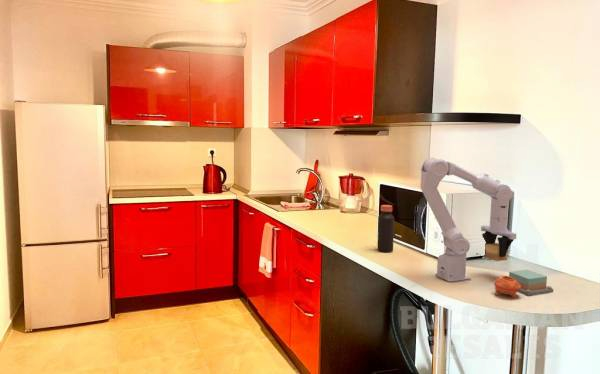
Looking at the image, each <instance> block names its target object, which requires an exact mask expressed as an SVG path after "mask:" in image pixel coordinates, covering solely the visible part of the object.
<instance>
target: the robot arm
mask: <svg viewBox="0 0 600 374" xmlns="http://www.w3.org/2000/svg"><path fill="white" fill-rule="evenodd" d="M420 174H421V177H420V190H421V192H422V194H423V196H424V197H425V200H426V202H427V203H428V206H429V208H430V210H431V211H432V214H433V215H434V217H435V220H436V222H437V224H438V225H439V227H440V230H441V235H442V238H443V239H442V240H443V245H444V246H445V252H444V253H443V254H441V255H439V256H438V258H437V266H436V267H437V268H436V273H435V276H436V277H438V278H441V279H442V280H445V281H446V282H447V281H448V282H449V283H451V282H452V283H453V282H458V281H465V280H471V278H472V277H470V276H468V275H467V274H466V271H467V269H466V268H467V254H468V252H469V251H470V247H471V246H470V245H471V243H470V241H469V240H468V239H467V238H465V237H464V235H463V234H462V232H461V231H460V230H459V228H458V227H457V225H456V224H455V221H454V219H453V218H452V215H451V214H450V211H449V210H448V207H447V206H446V204H445V201H444V199H443V198H442V195H441V193H440V192H439V189H438V187H439V184H441V183H440V182H441V181H442V180H443V179H444V178H445V177H446V176H449V177H450V176H455V177H458V178H459V179H462V180H464V181H467V182H468V183H470V184H471V186H472V189H475V190H476V191H478V192H481V193H483V194H485V195H487V196H488V197H490V198H491V199H490V201H491V202H490V216H489V217H490V218H489V225H481V226H480V231H481V232H482V234H481V236H482V239H483V238H484V240H485V242H486V245H487V244H492V243H496V240H497V241H498V242H497V243H499V256H500V257H505V256H506V253H507V250H508V251H509V248H510V246H511V244H512V243H513V242H514V241H515V240H517V233H516V232H513V231H511V230H509V229H508V220H509V219H508V218H509V205H510V200H512V197H513V195H514V192H512V189H511V187H510V186H509V185H507V184H503V183H501V181H500V180H498V179H496V180H495V179H493V178H491V177H490V175H489V174H487V173H478V174H475V173H473V172H471V171H468V169H465V168H463V167H461V166H459V165H457V164H456V163H452V162H450V161H446V160H445V159H442V158H441V159H440V158H439V159H438V158H435V157H429V158H427V159H425V160H424V162H423V164H422V165H421V167H420ZM483 232H484V233H483ZM498 236H499V237H498Z"/></svg>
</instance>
